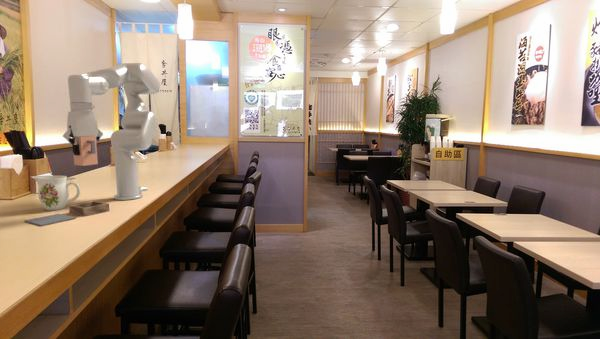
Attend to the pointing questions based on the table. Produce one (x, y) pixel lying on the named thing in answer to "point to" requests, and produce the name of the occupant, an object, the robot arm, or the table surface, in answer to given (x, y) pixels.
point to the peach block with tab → (86, 151)
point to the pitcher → (54, 191)
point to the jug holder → (89, 208)
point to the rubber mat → (50, 219)
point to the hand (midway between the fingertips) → (85, 153)
